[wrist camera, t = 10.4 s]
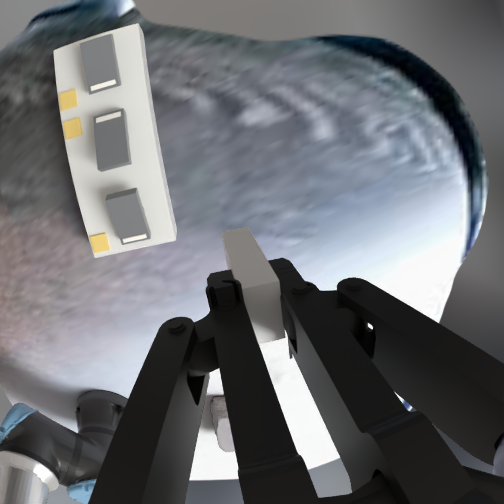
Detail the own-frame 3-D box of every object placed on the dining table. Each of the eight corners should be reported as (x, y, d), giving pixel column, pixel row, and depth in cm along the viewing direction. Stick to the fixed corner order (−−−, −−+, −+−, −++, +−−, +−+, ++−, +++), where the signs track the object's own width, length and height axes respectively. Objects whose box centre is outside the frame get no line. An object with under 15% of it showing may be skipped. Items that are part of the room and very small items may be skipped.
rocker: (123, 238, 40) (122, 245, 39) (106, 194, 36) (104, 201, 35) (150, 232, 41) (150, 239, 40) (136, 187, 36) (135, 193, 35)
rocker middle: (101, 172, 35) (97, 169, 33) (96, 120, 34) (92, 116, 33) (131, 164, 35) (128, 161, 33) (126, 112, 35) (123, 107, 33)
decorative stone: (242, 385, 62) (196, 398, 61) (249, 409, 55) (200, 423, 54) (257, 422, 68) (218, 434, 67) (265, 444, 62) (223, 456, 60)
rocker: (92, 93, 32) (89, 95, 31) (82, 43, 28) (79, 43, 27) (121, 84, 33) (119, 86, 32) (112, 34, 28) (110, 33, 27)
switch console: (101, 245, 45) (91, 261, 40) (64, 57, 33) (49, 49, 28) (176, 229, 47) (175, 243, 41) (143, 33, 35) (137, 21, 29)
